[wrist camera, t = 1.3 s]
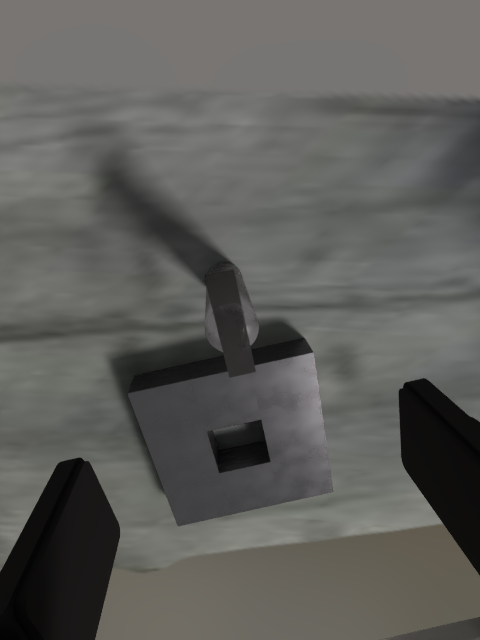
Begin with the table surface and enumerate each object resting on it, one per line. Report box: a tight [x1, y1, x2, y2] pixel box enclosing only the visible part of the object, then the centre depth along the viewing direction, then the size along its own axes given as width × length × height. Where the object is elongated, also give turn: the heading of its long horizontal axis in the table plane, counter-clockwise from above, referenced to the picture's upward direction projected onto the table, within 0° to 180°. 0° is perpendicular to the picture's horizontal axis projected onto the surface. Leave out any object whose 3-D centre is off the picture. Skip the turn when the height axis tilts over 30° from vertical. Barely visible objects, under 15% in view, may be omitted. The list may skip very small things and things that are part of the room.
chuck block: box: [127, 338, 333, 526], centre depth 34 cm, size 16×16×3 cm
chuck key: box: [205, 262, 259, 378], centre depth 25 cm, size 3×6×11 cm, turn 12°
